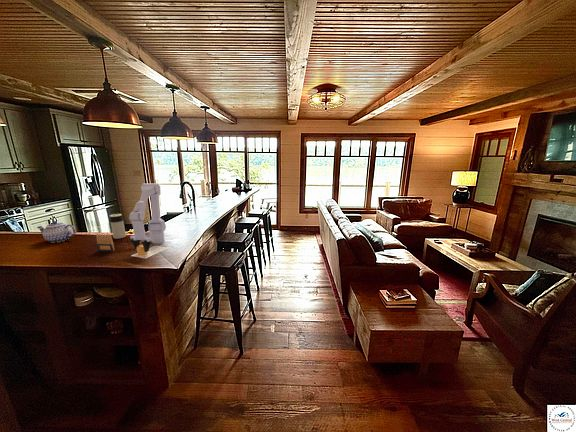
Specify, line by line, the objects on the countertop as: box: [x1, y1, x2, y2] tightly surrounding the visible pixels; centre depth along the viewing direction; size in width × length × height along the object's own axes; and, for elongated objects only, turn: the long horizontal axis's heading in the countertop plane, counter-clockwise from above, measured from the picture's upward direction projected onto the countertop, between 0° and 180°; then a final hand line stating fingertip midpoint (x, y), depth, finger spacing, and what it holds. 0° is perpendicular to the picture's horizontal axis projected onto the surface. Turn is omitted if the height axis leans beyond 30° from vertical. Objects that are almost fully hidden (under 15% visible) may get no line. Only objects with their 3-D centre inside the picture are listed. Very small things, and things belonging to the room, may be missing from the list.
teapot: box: [36, 220, 77, 244], centre depth 168 cm, size 25×15×15 cm, turn 93°
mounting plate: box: [131, 245, 168, 259], centre depth 148 cm, size 12×18×5 cm, turn 162°
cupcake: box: [136, 244, 148, 255], centre depth 144 cm, size 6×6×5 cm
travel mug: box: [109, 213, 127, 240], centre depth 176 cm, size 8×8×18 cm
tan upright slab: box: [96, 233, 116, 253], centre depth 151 cm, size 11×2×12 cm, turn 87°
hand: (142, 250), depth 144 cm, fingers open, 7 cm apart
